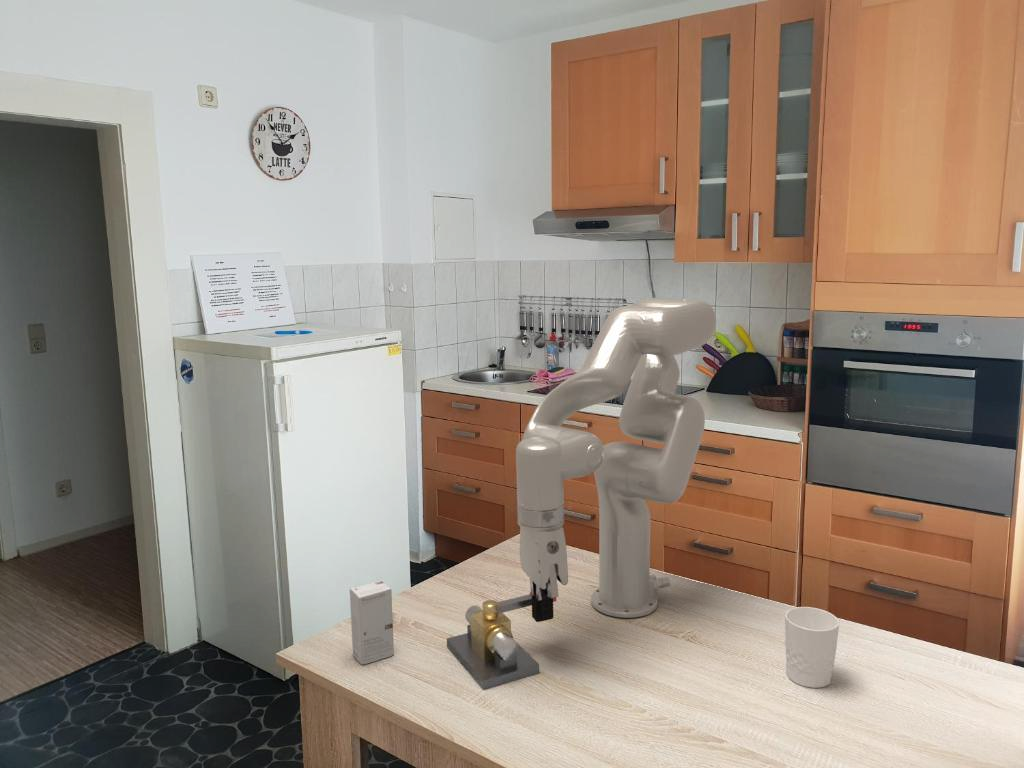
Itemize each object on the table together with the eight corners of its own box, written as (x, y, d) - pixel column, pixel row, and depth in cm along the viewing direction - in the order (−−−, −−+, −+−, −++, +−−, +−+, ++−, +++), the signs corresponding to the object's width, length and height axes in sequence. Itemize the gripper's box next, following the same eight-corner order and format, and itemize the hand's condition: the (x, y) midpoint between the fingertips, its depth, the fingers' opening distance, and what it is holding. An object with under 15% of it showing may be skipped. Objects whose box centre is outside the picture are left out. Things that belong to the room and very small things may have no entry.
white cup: (834, 667, 127) (837, 610, 125) (836, 694, 120) (840, 634, 118) (782, 660, 130) (785, 603, 128) (782, 685, 122) (785, 626, 120)
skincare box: (362, 666, 130) (358, 598, 128) (351, 654, 134) (347, 588, 132) (396, 655, 133) (392, 588, 131) (385, 644, 137) (381, 579, 135)
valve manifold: (498, 632, 140) (497, 593, 139) (539, 672, 127) (538, 630, 126) (447, 646, 136) (445, 606, 134) (483, 689, 123) (482, 645, 121)
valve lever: (486, 620, 128) (486, 608, 128) (480, 614, 131) (479, 602, 130) (557, 602, 134) (557, 591, 134) (549, 596, 136) (549, 585, 136)
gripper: (581, 526, 121) (582, 634, 125) (543, 496, 135) (545, 595, 139) (536, 533, 119) (539, 644, 122) (503, 503, 133) (506, 603, 136)
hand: (542, 618), depth 131 cm, fingers closed
